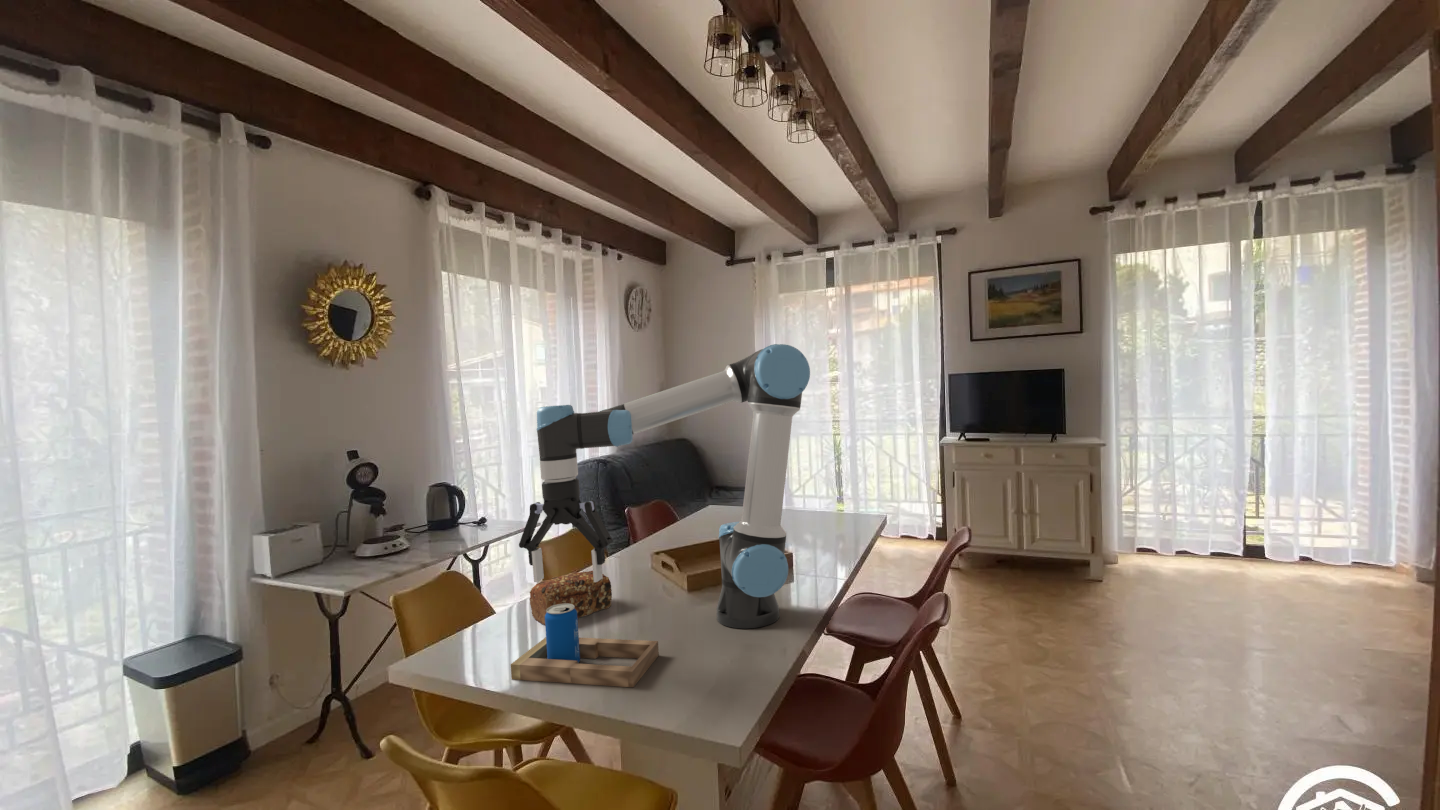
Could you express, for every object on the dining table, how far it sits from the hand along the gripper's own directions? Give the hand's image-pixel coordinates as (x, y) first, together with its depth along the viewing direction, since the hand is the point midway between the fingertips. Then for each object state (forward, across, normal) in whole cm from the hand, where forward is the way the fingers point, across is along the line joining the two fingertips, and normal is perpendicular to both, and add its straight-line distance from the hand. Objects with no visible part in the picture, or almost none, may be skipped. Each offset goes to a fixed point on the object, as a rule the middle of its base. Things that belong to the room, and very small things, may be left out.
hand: (568, 580), depth 127 cm
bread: (+18, +14, -27) cm, 35 cm away
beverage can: (+17, +1, +2) cm, 17 cm away
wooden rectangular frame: (+17, -4, +2) cm, 18 cm away
